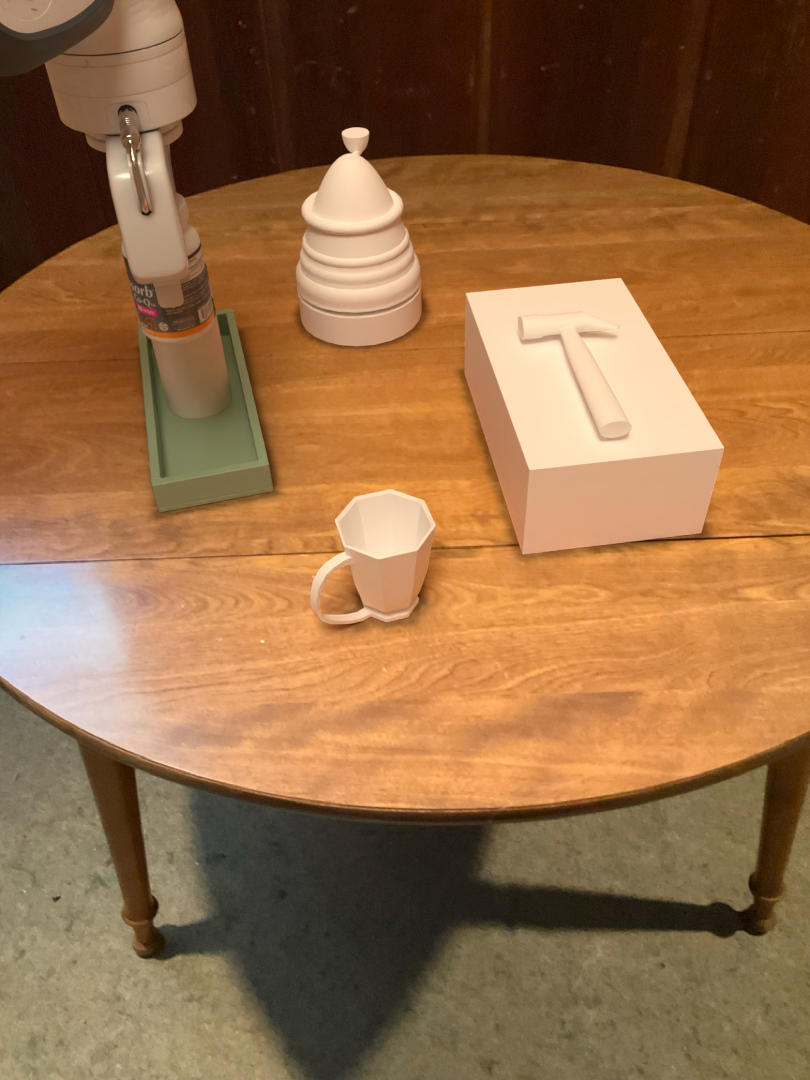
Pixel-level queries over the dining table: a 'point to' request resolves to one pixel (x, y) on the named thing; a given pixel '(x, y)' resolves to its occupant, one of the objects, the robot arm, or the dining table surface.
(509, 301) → the hammer embossed box
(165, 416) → the bottle tray
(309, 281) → the honey pot
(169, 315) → the pill bottle
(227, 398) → the white bottle
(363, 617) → the cup
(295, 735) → the dining table surface
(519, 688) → the dining table surface
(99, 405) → the dining table surface
